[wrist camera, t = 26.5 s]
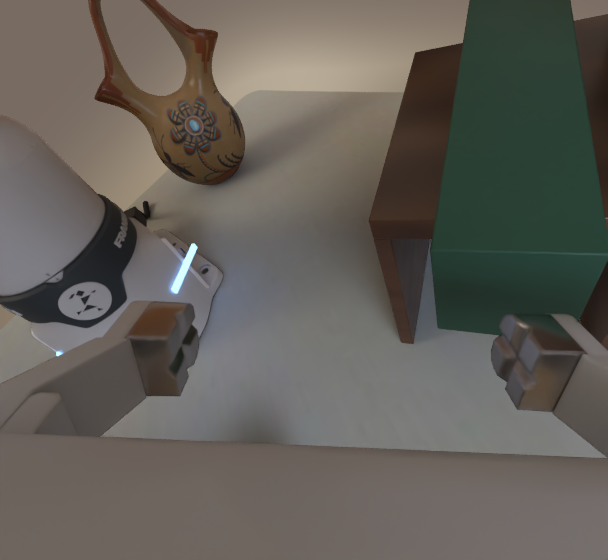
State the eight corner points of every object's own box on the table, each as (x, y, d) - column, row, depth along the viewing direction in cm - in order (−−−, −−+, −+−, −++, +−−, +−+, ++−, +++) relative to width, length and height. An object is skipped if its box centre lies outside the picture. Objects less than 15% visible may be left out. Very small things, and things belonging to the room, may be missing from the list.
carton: (568, 343, 13) (612, 254, 9) (437, 329, 15) (429, 250, 11) (546, 41, 24) (561, -56, 20) (472, 54, 26) (474, -32, 22)
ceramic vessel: (177, 217, 53) (20, 24, 34) (171, 185, 59) (35, 6, 40) (279, 163, 52) (178, -62, 34) (263, 137, 58) (169, -67, 40)
